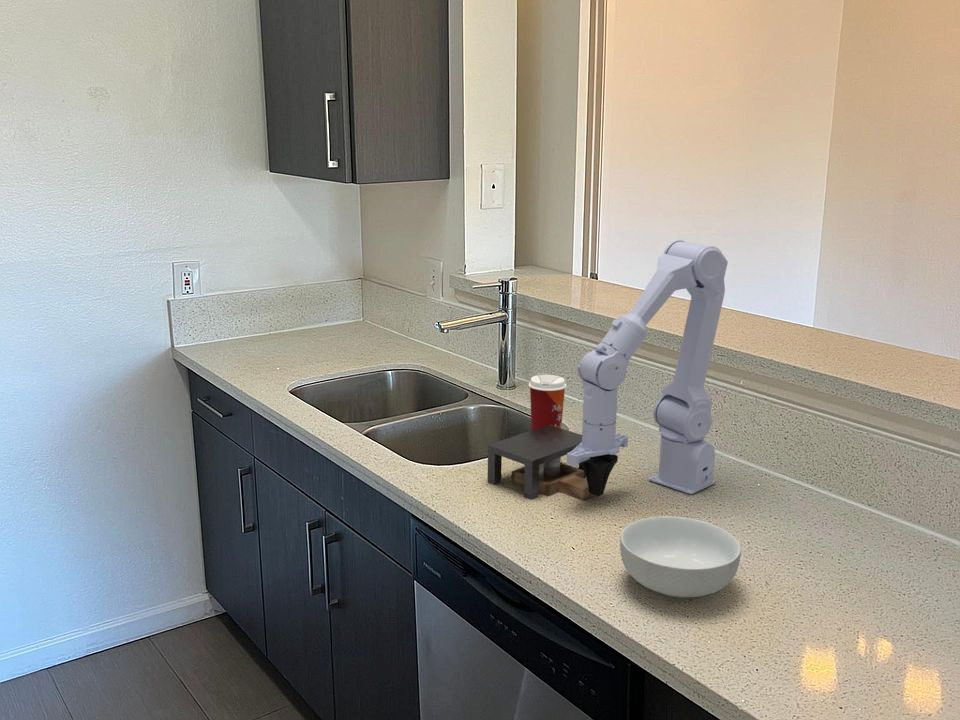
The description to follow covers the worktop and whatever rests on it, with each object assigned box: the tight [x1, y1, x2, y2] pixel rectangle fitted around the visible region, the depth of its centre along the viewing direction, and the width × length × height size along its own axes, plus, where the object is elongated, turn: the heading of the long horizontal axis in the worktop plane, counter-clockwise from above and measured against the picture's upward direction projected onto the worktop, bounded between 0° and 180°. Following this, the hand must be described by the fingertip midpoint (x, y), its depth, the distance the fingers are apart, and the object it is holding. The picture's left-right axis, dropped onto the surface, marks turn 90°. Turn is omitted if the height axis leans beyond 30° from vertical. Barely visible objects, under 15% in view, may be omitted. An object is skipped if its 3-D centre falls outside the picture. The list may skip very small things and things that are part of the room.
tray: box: [511, 457, 595, 501], centre depth 167 cm, size 14×10×4 cm
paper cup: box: [528, 374, 567, 430], centre depth 187 cm, size 8×8×14 cm
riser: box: [487, 425, 586, 500], centre depth 170 cm, size 11×17×7 cm, turn 134°
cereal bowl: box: [619, 515, 742, 599], centre depth 132 cm, size 17×17×7 cm
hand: (596, 493), depth 162 cm, fingers closed, pressing on tray
